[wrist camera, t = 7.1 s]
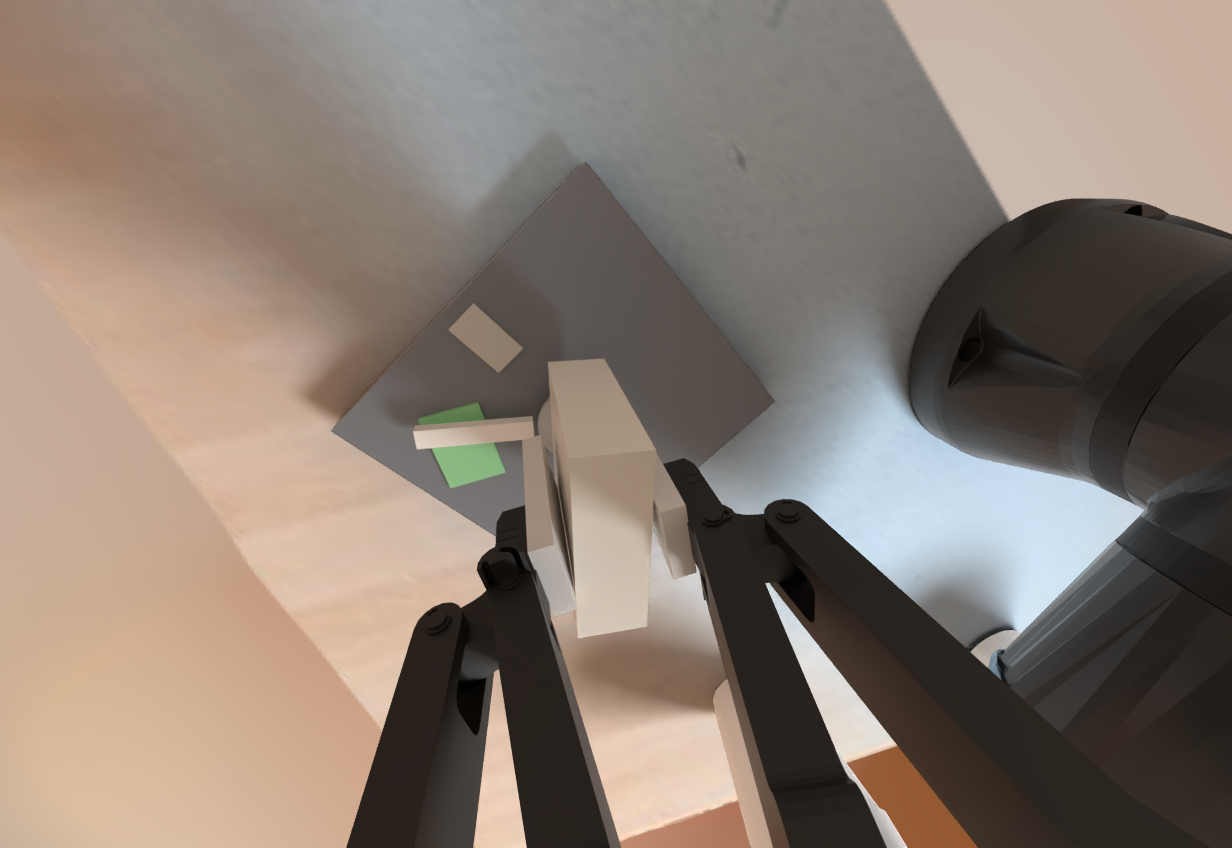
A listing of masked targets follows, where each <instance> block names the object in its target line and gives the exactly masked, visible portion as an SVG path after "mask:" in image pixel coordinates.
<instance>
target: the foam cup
mask: <svg viewBox="0 0 1232 848" xmlns="http://www.w3.org/2000/svg"><path fill="white" fill-rule="evenodd" d="M712 702H713V705H714V707H715V709H714V711H715V714H716V718H717V722H718V726H719V729H720V733H721V737H722V741H723V745H724V748H725V752H726V756H727V760H728V763H729V767H730V771H731V775H732V779H733V782H734V786H735V790H736V794H737V797H738V801H739V805H740V808H741V812H742V816H743V820H744V824H745V828H746V831H747V835H748V839H749V843H750V846H751V848H773V846H772V842H771V839H770V835H769V831H768V827H767V824H766V820H765V816H764V813H763V809H762V805H761V802H760V798H759V794H758V790H757V787H756V783H755V779H754V776H753V772H752V768H751V765H750V761H749V757H748V753H747V750H746V746H745V742H744V739H743V735H742V731H741V727H740V724H739V720H738V716H737V713H736V709H735V705H734V702H733V698H732V694H731V690H730V687H729V683H728V679H726V680H724V682H723V683H722V684H721V685H720V686H719V687H718V688H717V690H716V691H715V694H714V698H713V701H712ZM836 752H837V754H838V756H839V759H840V761H841V763H842V765H843V768H844V770H845V772H846V773H847V775H848V777H849V778H850V779H852V780H853V781H854V782H856V784H857V785H858V787H859V788H860V790H861V792H862V793H863V795H864V797H865V799H866V802H867V804H868V806H869V808H870V810H871V812H872V815H873V817H874V819H875V821H876V824H877V826H878V828H879V830H880V833H881V835H882V837H883V840H884V842H885V844H886V846H887V848H907V846H906V845H905V843H904V841H903V840H902V838H901V837H900V835H899V833H898V831H897V830H896V828H895V827H894V825H893V823H892V822H891V820H890V818H889V817H888V815H887V813H886V812H885V811H884V810H882V809H880V808H879V807H878V806H877V804H876V803H875V802H874V800H873V799H872V798H871V796H870V795H869V794H868V792H867V791H866V789H865V788H864V787H863V785H862V784H861V783H860V781H859V780H858V779H857V777H856V776H855V775H854V773H853V772H852V771H851V769H850V768H849V766H848V765H847V764H846V762H845V761H844V760H843V758H842V757H841V756H840V754H839V753H838V751H837V750H836Z"/></svg>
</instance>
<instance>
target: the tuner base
mask: <svg viewBox="0 0 1232 848" xmlns="http://www.w3.org/2000/svg"><path fill="white" fill-rule="evenodd" d="M587 359H605V361H606V363H607V364H608V366H609V368H610V370H611V371H612V373H613V375H614V377H615V378H616V380H617V382H618V384H619V385H620V387H621V389H622V391H623V393H624V394H625V396H626V398H627V400H628V401H629V403H630V405H631V407H632V408H633V410H634V412H635V414H636V415H637V417H638V419H639V421H640V422H641V424H642V426H643V428H644V429H645V431H646V433H647V435H648V436H649V438H650V440H651V442H652V443H653V445H654V447H655V449H656V453H657V455H658V456H659V458H660V460H661V462H662V464H665V463H668V462H672V461H675V460H679V459H682V458H685V459H687V460H689V461H691V462H692V463H694V464H695V465H696V467H697V468H698V467H699V466H700V465H701V464H703V463H704V462H705V461H706V460H707V459H708V458H710V457H711V456H712V455H713V454H714V453H715V452H717V451H718V450H719V449H720V448H721V447H722V446H724V445H725V444H726V443H727V442H728V441H729V440H731V439H732V438H733V437H734V436H735V435H736V434H738V433H739V432H740V431H741V430H742V429H743V428H745V427H746V426H747V425H748V424H749V423H751V422H752V421H753V420H754V419H755V418H756V417H758V416H759V415H760V414H761V413H762V412H763V411H765V410H766V409H767V408H768V407H769V406H770V405H772V404H773V403H774V402H775V400H774V399H773V398H772V397H771V395H770V394H769V393H768V391H767V390H766V389H765V388H764V386H763V385H762V384H761V383H760V381H759V380H758V379H757V378H756V376H755V375H754V374H753V372H752V371H751V370H750V369H749V367H748V366H747V365H746V364H745V362H744V361H743V360H742V359H741V357H740V356H739V355H738V353H737V352H736V351H735V350H734V348H733V347H732V346H731V345H730V343H729V342H728V341H727V340H726V338H725V337H724V336H723V334H722V333H721V332H720V331H719V329H718V328H717V327H716V326H715V324H714V323H713V322H712V321H711V319H710V318H709V317H708V315H707V314H706V313H705V312H704V310H703V309H702V308H701V307H700V305H699V304H698V303H697V302H696V300H695V299H694V298H693V297H692V295H691V294H690V293H689V291H688V290H687V289H686V288H685V286H684V285H683V284H682V283H681V281H680V280H679V279H678V278H677V276H676V275H675V274H674V272H673V271H672V270H671V269H670V267H669V266H668V265H667V264H666V262H665V261H664V260H663V259H662V257H661V256H660V255H659V253H658V252H657V251H656V250H655V248H654V247H653V246H652V245H651V243H650V242H649V241H648V240H647V238H646V237H645V236H644V234H643V233H642V232H641V231H640V229H639V228H638V227H637V226H636V224H635V223H634V222H633V221H632V219H631V218H630V217H629V215H628V214H627V213H626V212H625V210H624V209H623V208H622V207H621V205H620V204H619V203H618V202H617V200H616V199H615V198H614V196H613V195H612V194H611V193H610V191H609V190H608V189H607V188H606V186H605V185H604V184H603V183H602V181H601V180H600V179H599V177H598V176H597V175H596V174H595V172H594V171H593V170H592V169H591V167H590V166H589V165H588V164H587V162H584V163H582V164H580V165H579V166H578V167H577V168H576V170H575V171H574V172H573V173H572V174H571V175H570V176H569V177H568V178H567V179H566V180H565V181H564V182H563V183H562V184H561V185H560V186H559V188H558V189H557V190H556V191H555V192H554V193H553V194H552V195H551V196H550V197H549V198H548V199H547V200H546V201H545V202H544V203H543V204H542V205H541V207H540V208H539V209H538V210H537V211H536V212H535V213H534V214H533V215H532V216H531V217H530V218H529V219H528V220H527V221H526V222H525V223H524V225H523V226H522V227H521V228H520V229H519V230H518V231H517V232H516V233H515V234H514V235H513V236H512V237H511V238H510V239H509V240H508V241H507V242H506V244H505V245H504V246H503V247H502V248H501V249H500V250H499V251H498V252H497V253H496V254H495V255H494V256H493V257H492V258H491V259H490V260H489V262H488V263H487V264H486V265H485V266H484V267H483V268H482V269H481V270H480V271H479V272H478V273H477V274H476V275H475V276H474V277H473V278H472V279H471V281H470V282H469V283H468V284H467V285H466V286H465V287H464V288H463V289H462V290H461V291H460V292H459V293H458V294H457V295H456V296H455V297H454V299H453V300H452V301H451V302H450V303H449V304H448V305H447V306H446V307H445V308H444V309H443V310H442V311H441V312H440V313H439V314H438V315H437V316H436V318H435V319H434V320H433V321H432V322H431V323H430V324H429V325H428V326H427V327H426V328H425V329H424V330H423V331H422V332H421V333H420V334H419V336H418V337H417V338H416V339H415V340H414V341H413V342H412V343H411V344H410V345H409V346H408V347H407V348H406V349H405V350H404V351H403V352H402V353H401V355H400V356H399V357H398V358H397V359H396V360H395V361H394V362H393V363H392V364H391V365H390V366H389V367H388V368H387V369H386V370H385V371H384V373H383V374H382V375H381V376H380V377H379V378H378V379H377V380H376V381H375V382H374V383H373V384H372V385H371V386H370V387H369V388H368V389H367V390H366V392H365V393H364V394H363V395H362V396H361V397H360V398H359V399H358V400H357V401H356V402H355V403H354V404H353V405H352V406H351V407H350V408H349V410H348V411H347V412H346V413H345V414H344V415H343V416H342V417H341V418H340V420H339V421H338V422H337V424H336V425H335V426H334V427H333V429H332V430H331V432H333V433H334V434H336V435H338V436H339V437H341V438H342V439H344V440H345V441H347V442H349V443H350V444H352V445H353V446H355V447H356V448H358V449H359V450H361V451H363V452H364V453H366V454H367V455H369V456H370V457H372V458H374V459H375V460H377V461H378V462H380V463H381V464H383V465H385V466H386V467H388V468H389V469H391V470H392V471H394V472H396V473H397V474H399V475H400V476H402V477H403V478H405V479H406V480H408V481H410V482H411V483H413V484H414V485H416V486H417V487H419V488H421V489H422V490H424V491H425V492H427V493H428V494H430V495H432V496H433V497H435V498H436V499H438V500H439V501H441V502H443V503H444V504H446V505H447V506H449V507H450V508H452V509H453V510H455V511H457V512H458V513H460V514H461V515H463V516H464V517H466V518H468V519H469V520H471V521H472V522H474V523H475V524H477V525H479V526H480V527H482V528H483V529H485V530H486V531H488V532H490V533H491V534H493V535H494V536H496V523H497V521H498V519H499V517H500V515H501V514H502V512H503V511H507V510H510V509H513V508H517V507H520V506H524V505H525V490H524V469H523V449H522V440H516V441H505V442H494V443H483V444H472V445H461V446H450V447H438V448H427V449H417V448H416V444H415V439H414V434H413V430H414V428H415V426H416V425H428V424H440V423H453V422H465V421H477V420H489V419H502V418H514V417H526V416H533V426H534V437H535V436H539V432H538V421H537V420H538V414H539V411H540V408H541V406H542V405H543V403H544V402H545V401H546V399H547V398H548V397H549V396H550V390H549V375H548V362H554V361H571V360H587ZM544 447H545V446H544ZM545 450H546V453H547V456H548V459H549V463H550V466H551V469H552V472H553V475H554V478H555V468H554V454H553V453H551V452H550V451H549V450H548V449H547V448H546V447H545Z"/></svg>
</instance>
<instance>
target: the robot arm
mask: <svg viewBox="0 0 1232 848" xmlns="http://www.w3.org/2000/svg"><path fill="white" fill-rule="evenodd" d="M910 395H911V401H912V404H913V408H914V410H915V413H916V415H917V417H918V419H919V420H920V422H921V423H922V425H923V426H924V427H925V428H926V429H927V430H928V431H929V432H930V433H931V434H933V435H934V436H936V437H937V438H939V439H941V440H943V441H944V442H946V443H948V444H950V445H951V446H953V447H955V448H957V449H958V450H960V451H962V452H964V453H966V454H969V455H971V456H974V457H977V458H980V459H985V460H990V461H994V462H998V463H1003V464H1008V465H1012V466H1017V467H1021V468H1026V469H1030V470H1035V471H1040V472H1044V473H1049V474H1054V475H1058V476H1063V477H1067V478H1072V479H1077V480H1081V481H1086V482H1089V483H1091V484H1094V485H1096V486H1098V487H1100V488H1102V489H1104V490H1106V491H1109V492H1111V493H1113V494H1115V495H1117V496H1119V497H1121V498H1123V499H1125V500H1127V501H1129V502H1131V503H1133V504H1135V505H1137V506H1139V507H1141V508H1142V509H1144V511H1143V512H1142V514H1141V515H1140V516H1139V517H1138V518H1137V519H1136V520H1135V521H1134V522H1133V523H1132V524H1131V525H1130V526H1129V527H1128V528H1127V529H1126V530H1125V531H1124V532H1123V533H1122V534H1121V535H1120V536H1119V537H1118V538H1117V539H1116V540H1114V541H1113V542H1112V543H1111V544H1110V545H1109V546H1108V547H1107V548H1106V549H1105V550H1104V551H1103V552H1102V553H1101V554H1100V555H1099V556H1098V557H1097V558H1096V559H1095V560H1094V561H1093V562H1092V563H1091V564H1090V565H1089V566H1088V567H1087V568H1086V569H1085V570H1084V571H1083V572H1082V573H1081V574H1080V575H1079V576H1078V577H1077V578H1076V579H1075V580H1074V581H1073V582H1072V583H1071V584H1070V585H1069V586H1068V587H1067V588H1066V589H1065V590H1064V591H1063V592H1062V593H1061V594H1060V595H1059V596H1058V597H1057V598H1056V599H1055V600H1054V601H1053V602H1052V603H1051V604H1050V605H1049V606H1048V607H1047V608H1046V609H1045V610H1044V611H1043V612H1042V613H1041V614H1040V615H1039V616H1038V617H1037V618H1036V619H1035V620H1034V621H1033V622H1032V623H1031V624H1030V625H1029V626H1028V627H1027V628H1026V629H1025V630H1024V631H1023V632H1022V633H1021V634H1020V635H1019V636H1018V637H1017V638H1016V639H1015V640H1014V641H1013V642H1012V643H1011V644H1010V645H1009V646H1008V647H1007V648H1006V649H997V650H996V651H995V652H994V653H993V654H992V655H991V658H990V663H989V666H988V667H986V666H985V665H984V664H983V663H982V662H981V661H980V660H979V659H977V658H976V657H975V656H974V655H973V654H972V653H971V652H970V651H969V650H967V649H966V648H965V647H964V646H963V645H962V644H961V643H960V642H959V641H957V640H956V639H955V638H954V637H953V636H952V635H951V634H950V633H949V632H947V631H946V630H945V629H944V628H943V627H942V626H941V625H940V624H938V623H937V622H936V621H935V620H934V619H933V618H932V617H931V616H930V615H928V614H927V613H926V612H925V611H924V610H923V609H922V608H921V607H920V606H918V605H917V604H916V603H915V602H914V601H913V600H912V599H911V598H910V597H908V596H907V595H906V594H905V593H904V592H903V591H902V590H901V589H899V588H898V587H897V586H896V585H895V584H894V583H893V582H892V581H891V580H889V579H888V578H887V577H886V576H885V575H884V574H883V573H882V572H881V571H879V570H878V569H877V568H876V567H875V566H874V565H873V564H872V563H871V562H869V561H868V560H867V559H866V558H865V557H864V556H863V555H862V554H860V553H859V552H858V551H857V550H856V549H855V548H854V547H853V546H852V545H850V544H849V543H848V542H847V541H846V540H845V539H844V538H843V537H842V536H840V535H839V534H838V533H837V532H836V531H835V530H834V529H833V528H832V527H830V526H829V525H828V524H827V523H826V522H825V521H824V520H823V519H821V518H820V517H819V516H818V515H817V514H816V513H815V512H814V511H813V510H811V509H810V508H809V507H808V506H807V505H805V504H803V503H802V502H799V501H796V500H792V499H782V500H777V501H774V502H772V503H770V504H769V505H768V506H767V507H766V508H765V510H764V514H758V515H742V514H736V513H734V511H733V510H732V509H731V508H729V507H727V506H725V505H722V504H721V502H720V501H719V499H718V498H717V496H716V495H715V493H714V492H713V490H712V489H711V487H710V486H709V484H708V483H707V482H706V481H705V479H704V477H703V476H702V474H701V473H700V471H699V470H698V468H697V467H696V465H695V464H694V463H692V462H691V461H689V460H687V459H685V458H682V459H679V460H675V461H672V462H668V463H665V464H662V462H661V460H660V458H659V456H658V455H657V453H656V463H655V482H654V502H653V521H652V529H653V531H654V534H655V536H656V539H657V541H658V543H659V546H660V548H661V550H662V553H663V555H664V558H665V560H666V562H667V565H668V567H669V570H670V572H671V574H672V577H673V579H677V578H680V577H683V576H686V575H689V574H693V573H696V566H695V563H696V565H697V567H698V569H699V571H700V576H701V583H702V589H703V596H704V600H706V601H707V605H708V609H709V613H710V616H711V620H712V624H713V627H714V631H715V635H716V639H717V642H718V646H719V650H720V653H721V657H722V661H723V664H724V668H725V672H726V676H727V679H728V683H729V687H730V690H731V694H732V698H733V702H734V705H735V709H736V713H737V716H738V720H739V724H740V727H741V731H742V735H743V739H744V742H745V746H746V750H747V753H748V757H749V761H750V765H751V768H752V772H753V776H754V779H755V783H756V787H757V790H758V794H759V798H760V802H761V805H762V809H763V813H764V816H765V820H766V824H767V827H768V831H769V835H770V839H771V842H772V846H773V848H887V846H886V844H885V842H884V840H883V837H882V835H881V833H880V830H879V828H878V826H877V824H876V821H875V819H874V817H873V815H872V812H871V810H870V808H869V806H868V804H867V802H866V799H865V797H864V795H863V793H862V792H861V790H860V788H859V787H858V785H857V784H856V782H854V781H853V780H852V779H850V778H849V777H848V775H847V773H846V772H845V770H844V768H843V765H842V763H841V761H840V759H839V756H838V754H837V752H836V749H835V747H834V744H833V742H832V740H831V737H830V735H829V733H828V730H827V728H826V726H825V723H824V721H823V719H822V716H821V714H820V711H819V709H818V707H817V704H816V702H815V700H814V697H813V695H812V693H811V690H810V688H809V686H808V683H807V681H806V679H805V676H804V674H803V671H802V669H801V667H800V664H799V662H798V660H797V657H796V655H795V653H794V650H793V648H792V646H791V643H790V641H789V638H788V636H787V634H786V631H785V629H784V627H783V624H782V622H781V620H780V617H779V615H778V613H777V610H776V608H775V606H774V603H773V601H772V598H771V596H770V594H769V591H768V589H767V587H766V584H765V583H770V584H771V586H772V587H773V588H774V590H775V591H776V592H777V593H778V595H779V596H780V597H781V598H782V600H783V601H784V602H785V603H786V605H787V606H788V607H789V609H790V610H791V611H792V612H793V614H794V615H795V616H796V617H797V619H798V620H799V621H800V622H801V624H802V625H803V626H804V628H805V629H806V630H807V631H808V633H809V634H810V635H811V636H812V638H813V639H814V640H815V641H816V643H817V644H818V645H819V647H820V648H821V649H822V650H823V652H824V653H825V654H826V655H827V657H828V658H829V659H830V660H831V662H832V663H833V664H834V666H835V667H836V668H837V669H838V671H839V672H840V673H841V674H842V676H843V677H844V678H845V679H846V681H847V682H848V683H849V685H850V686H851V687H852V688H853V690H854V691H855V692H856V693H857V695H858V696H859V697H860V698H861V700H862V701H863V702H864V704H865V705H866V706H867V707H868V709H869V710H870V711H871V712H872V714H873V715H874V716H875V718H876V719H877V720H878V721H879V723H880V724H881V725H882V726H883V728H884V729H885V730H886V731H887V733H888V734H889V735H890V737H891V738H892V739H893V740H894V742H895V743H896V744H897V745H898V747H899V748H900V749H901V750H902V752H903V753H904V754H905V756H906V757H907V758H908V759H909V761H910V762H911V763H912V764H913V766H914V767H915V768H916V769H917V771H918V772H919V773H920V775H921V776H922V777H923V778H924V779H925V781H926V782H927V783H928V785H929V786H930V787H931V788H932V790H933V791H934V792H935V794H936V795H937V796H938V797H939V799H940V800H941V801H942V802H943V803H944V805H945V806H946V807H947V809H948V810H949V811H950V812H951V814H952V815H953V816H954V818H955V819H956V820H957V821H958V823H959V824H960V825H961V826H962V828H963V829H964V830H965V832H966V833H967V834H968V835H969V836H970V838H971V839H972V840H973V841H974V843H975V844H976V845H977V847H978V848H1232V234H1230V233H1227V232H1224V231H1222V230H1219V229H1216V228H1213V227H1210V226H1207V225H1204V224H1202V223H1198V222H1196V221H1193V220H1189V219H1186V218H1182V217H1179V216H1174V215H1170V214H1168V213H1166V212H1165V211H1163V210H1161V209H1159V208H1157V207H1154V206H1151V205H1149V204H1146V203H1143V202H1138V201H1133V200H1126V199H1066V200H1060V201H1055V202H1052V203H1048V204H1045V205H1042V206H1040V207H1037V208H1035V209H1032V210H1030V211H1028V212H1026V213H1024V214H1022V215H1021V216H1019V217H1017V218H1015V219H1013V220H1012V221H1010V222H1009V223H1007V224H1006V225H1004V226H1003V227H1001V228H1000V229H999V230H997V231H996V232H995V233H993V234H992V235H991V236H990V237H988V238H987V239H986V240H985V241H984V242H983V243H981V244H980V245H979V246H978V247H977V248H976V249H975V250H974V251H973V252H972V253H971V254H970V255H969V256H968V257H967V258H966V259H965V260H964V261H963V263H962V264H961V265H960V266H959V267H958V268H957V270H956V271H955V272H954V273H953V275H952V276H951V277H950V279H949V280H948V281H947V282H946V284H945V285H944V287H943V288H942V290H941V291H940V293H939V294H938V296H937V298H936V299H935V301H934V303H933V305H932V306H931V308H930V310H929V312H928V314H927V316H926V318H925V320H924V322H923V325H922V327H921V330H920V332H919V335H918V338H917V341H916V344H915V347H914V351H913V356H912V360H911V367H910ZM522 449H523V469H524V490H525V505H524V506H520V507H517V508H513V509H510V510H507V511H503V512H502V514H501V515H500V517H499V519H498V521H497V523H496V545H495V547H494V548H492V549H490V550H489V551H488V552H486V553H485V554H484V555H483V556H482V557H481V559H480V561H479V562H478V566H477V571H478V574H479V576H480V578H481V580H482V582H483V584H484V586H485V588H486V591H485V592H484V593H483V594H482V595H481V596H480V597H478V598H477V599H476V600H474V601H472V602H471V603H469V604H467V605H465V606H464V607H462V608H460V607H459V605H457V604H455V603H452V602H451V603H442V604H440V605H437V606H435V607H433V608H431V609H430V610H429V611H427V612H426V613H425V614H424V615H423V616H422V617H421V618H420V619H419V620H418V622H417V624H416V626H415V628H414V631H413V634H412V637H411V641H410V644H409V647H408V650H407V654H406V657H405V660H404V663H403V666H402V670H401V673H400V676H399V679H398V683H397V686H396V689H395V692H394V696H393V699H392V702H391V705H390V708H389V712H388V715H387V718H386V721H385V725H384V728H383V731H382V734H381V738H380V741H379V744H378V747H377V750H376V754H375V757H374V760H373V763H372V767H371V770H370V773H369V776H368V780H367V783H366V786H365V789H364V792H363V796H362V799H361V802H360V805H359V809H358V812H357V815H356V818H355V822H354V825H353V828H352V831H351V835H350V838H349V841H348V844H347V848H473V845H474V836H475V828H476V819H477V811H478V803H479V794H480V786H481V777H482V769H483V761H484V752H485V744H486V736H487V727H488V719H489V710H490V702H491V694H492V685H493V677H494V672H495V671H496V670H498V669H499V672H500V678H501V685H502V691H503V698H504V704H505V710H506V717H507V723H508V730H509V736H510V743H511V749H512V755H513V762H514V768H515V775H516V781H517V787H518V794H519V800H520V807H521V813H522V820H523V826H524V832H525V839H526V845H527V848H621V845H620V842H619V839H618V835H617V832H616V829H615V826H614V822H613V819H612V816H611V812H610V809H609V806H608V803H607V799H606V796H605V793H604V789H603V786H602V783H601V779H600V776H599V773H598V770H597V766H596V763H595V760H594V756H593V753H592V750H591V747H590V743H589V740H588V737H587V733H586V730H585V727H584V724H583V720H582V717H581V714H580V710H579V707H578V704H577V700H576V697H575V694H574V691H573V687H572V684H571V681H570V677H569V674H568V671H567V668H566V664H565V661H564V658H563V654H562V651H561V648H560V645H559V641H558V638H557V635H556V631H555V629H554V626H553V624H552V621H551V616H550V610H551V612H552V615H553V617H556V616H559V615H562V614H565V613H568V612H571V611H575V610H577V603H576V597H575V591H574V585H573V579H572V572H571V566H570V560H569V554H568V548H567V541H566V535H565V529H564V523H563V517H562V510H561V504H560V498H559V492H558V487H557V484H556V481H555V478H554V475H553V472H552V469H551V466H550V463H549V459H548V456H547V453H546V450H545V447H544V444H543V441H542V438H541V435H539V436H535V437H531V438H528V439H524V440H522Z"/></svg>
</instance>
